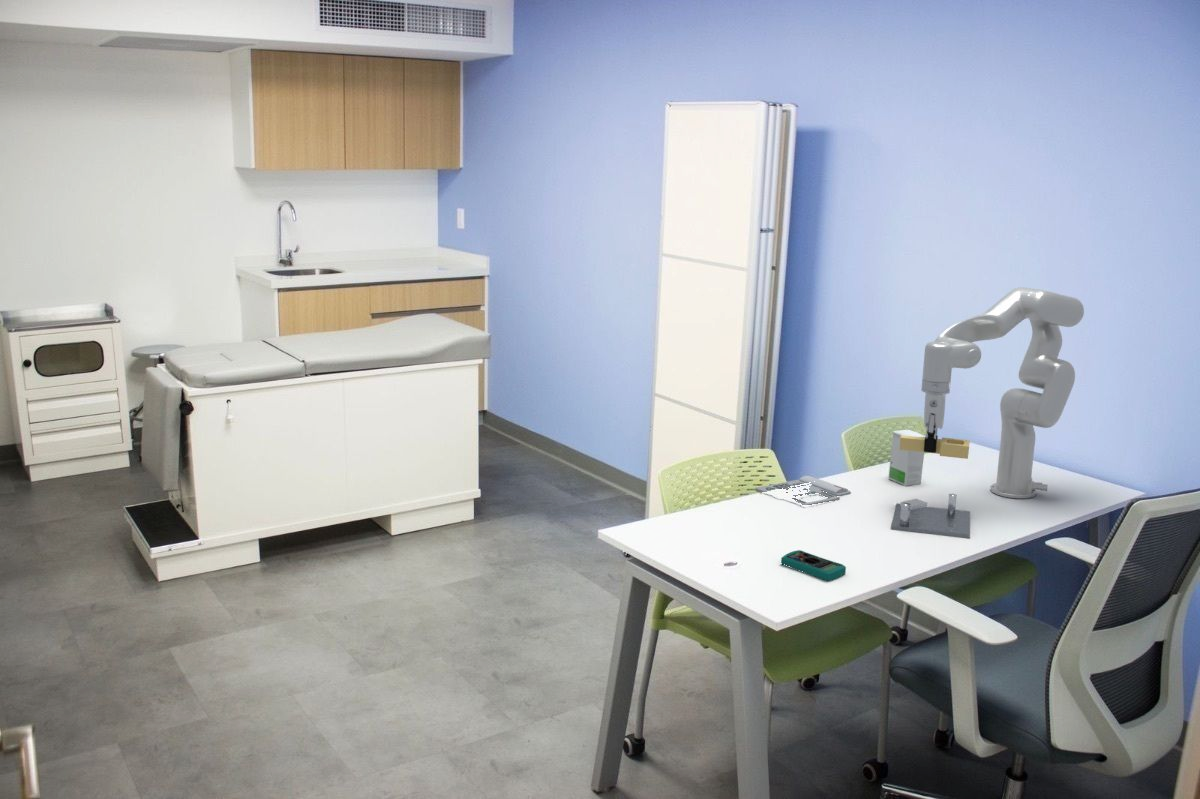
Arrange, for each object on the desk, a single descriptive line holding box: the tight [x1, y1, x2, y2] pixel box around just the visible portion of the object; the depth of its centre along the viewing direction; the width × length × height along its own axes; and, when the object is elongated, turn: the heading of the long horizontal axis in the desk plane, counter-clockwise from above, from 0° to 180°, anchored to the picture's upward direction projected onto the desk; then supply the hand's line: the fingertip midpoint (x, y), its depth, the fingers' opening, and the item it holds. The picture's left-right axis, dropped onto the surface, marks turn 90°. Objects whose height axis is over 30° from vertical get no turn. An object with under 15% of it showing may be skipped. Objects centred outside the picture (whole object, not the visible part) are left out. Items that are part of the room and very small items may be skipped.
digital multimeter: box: [780, 549, 847, 582], centre depth 253 cm, size 7×15×3 cm, turn 42°
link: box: [899, 435, 971, 460], centre depth 293 cm, size 18×7×4 cm, turn 69°
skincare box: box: [887, 429, 926, 487], centre depth 321 cm, size 8×7×16 cm
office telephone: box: [754, 475, 852, 505], centre depth 311 cm, size 23×3×20 cm
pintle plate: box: [890, 493, 971, 539], centre depth 286 cm, size 20×20×7 cm
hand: (930, 449), depth 294 cm, fingers closed on link, 3 cm apart
